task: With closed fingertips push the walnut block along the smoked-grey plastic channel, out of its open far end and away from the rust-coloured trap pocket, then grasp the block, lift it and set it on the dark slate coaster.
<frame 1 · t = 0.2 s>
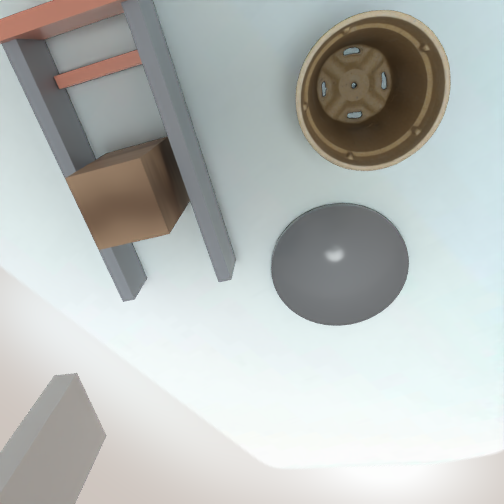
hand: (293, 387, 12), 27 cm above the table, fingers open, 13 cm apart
channel: (141, 155, 37), on the table
coaster: (338, 266, 41), on the table
block: (149, 176, 38), resting in channel
flower pot: (351, 85, 34), on the table
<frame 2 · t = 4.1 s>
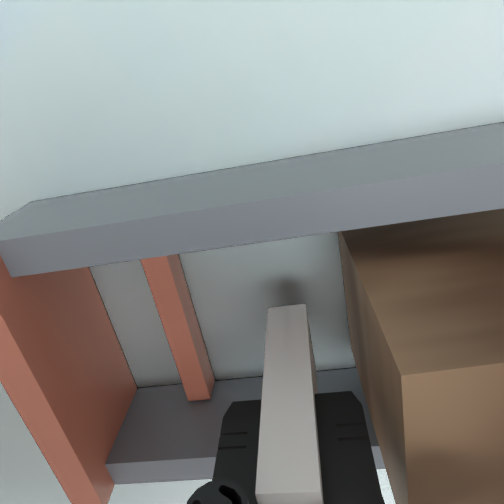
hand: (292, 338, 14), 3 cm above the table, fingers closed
channel: (364, 284, 16), on the table
block: (423, 278, 16), resting in channel, touching gripper
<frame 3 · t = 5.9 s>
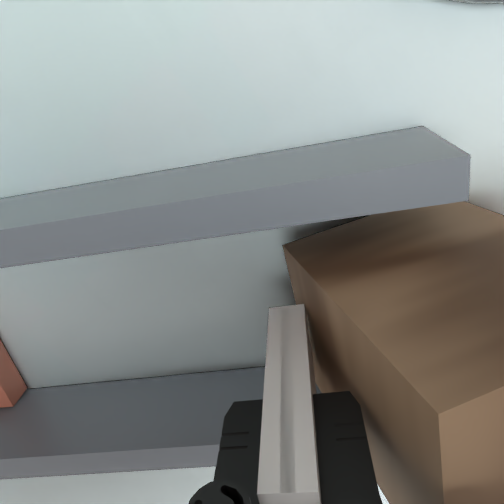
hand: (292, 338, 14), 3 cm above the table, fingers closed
channel: (134, 302, 18), on the table
block: (372, 290, 16), point 1 cm above the table, tilted 20°, touching gripper
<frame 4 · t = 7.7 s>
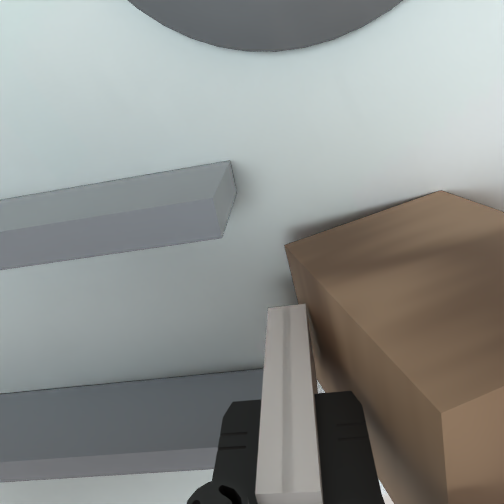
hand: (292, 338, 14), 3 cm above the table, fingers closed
block: (375, 289, 16), point 1 cm above the table, tilted 19°, touching gripper
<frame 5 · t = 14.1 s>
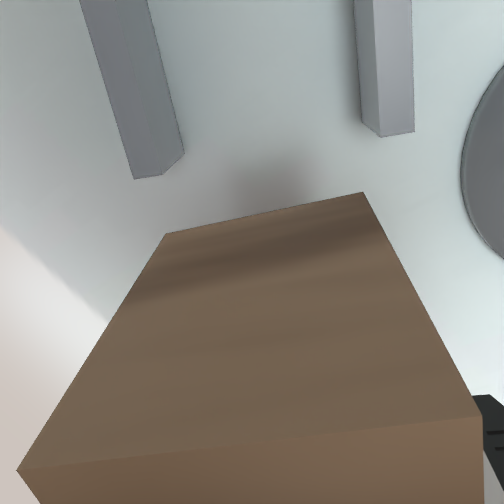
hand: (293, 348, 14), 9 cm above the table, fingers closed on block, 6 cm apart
block: (282, 297, 14), point 8 cm above the table, touching gripper
when the fingers open (1 cm above the table, at t = 18.2 s): block stays where it is, resting on coaster.
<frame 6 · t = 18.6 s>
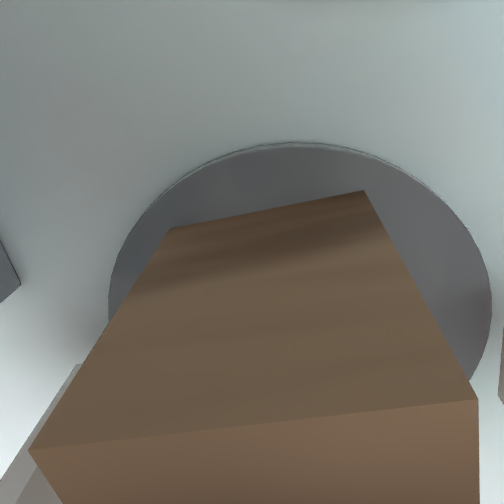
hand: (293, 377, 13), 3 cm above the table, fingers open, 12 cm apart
coaster: (292, 322, 15), on the table
block: (282, 293, 14), point 1 cm above the table, touching coaster
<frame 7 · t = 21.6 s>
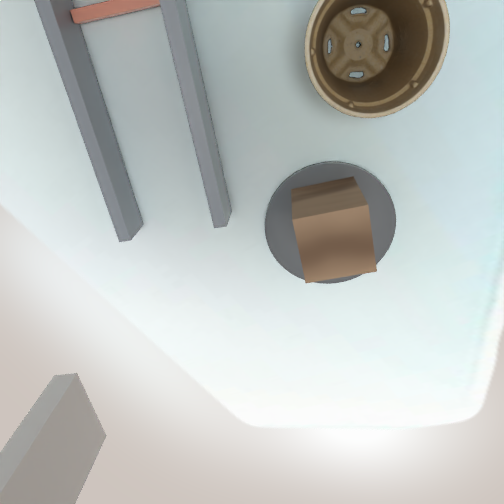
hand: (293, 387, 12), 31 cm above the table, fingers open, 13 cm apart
channel: (148, 99, 39), on the table
coaster: (328, 224, 43), on the table
block: (326, 211, 41), point 1 cm above the table, touching coaster
flower pot: (355, 45, 36), on the table
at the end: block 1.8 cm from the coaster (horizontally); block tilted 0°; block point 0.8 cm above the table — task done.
